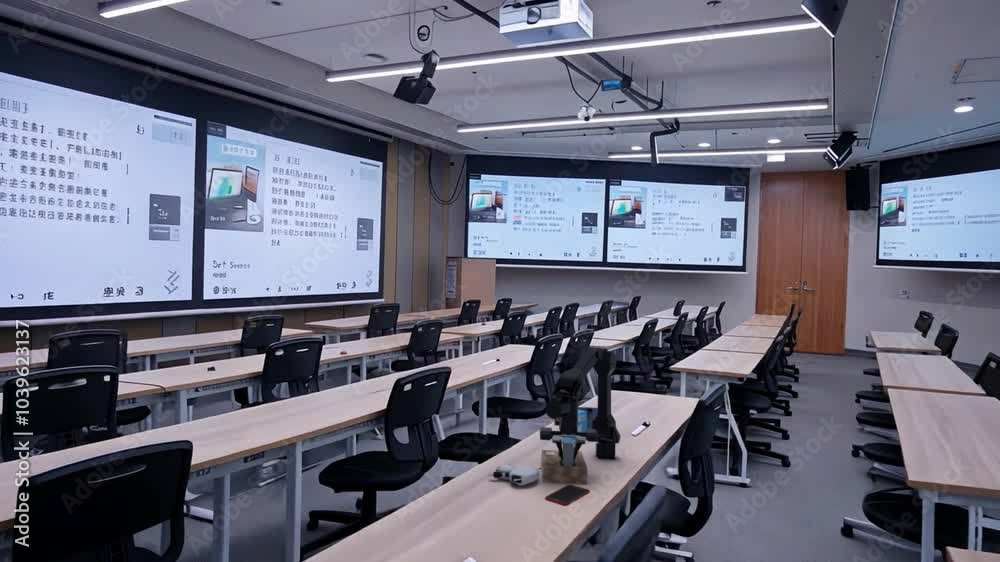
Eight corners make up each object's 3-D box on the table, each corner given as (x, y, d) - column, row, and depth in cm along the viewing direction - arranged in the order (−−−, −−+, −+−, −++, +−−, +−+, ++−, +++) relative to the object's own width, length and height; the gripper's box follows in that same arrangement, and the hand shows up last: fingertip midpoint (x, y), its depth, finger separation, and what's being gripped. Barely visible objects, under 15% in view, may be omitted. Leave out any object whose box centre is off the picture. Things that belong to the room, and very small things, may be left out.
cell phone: (590, 493, 185) (590, 490, 185) (565, 507, 173) (565, 504, 173) (569, 486, 189) (569, 483, 189) (543, 500, 178) (543, 497, 178)
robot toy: (486, 484, 192) (526, 491, 184) (485, 470, 192) (526, 476, 184) (506, 473, 202) (545, 479, 194) (505, 460, 202) (545, 465, 194)
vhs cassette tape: (608, 430, 255) (608, 407, 255) (609, 432, 252) (609, 409, 252) (565, 429, 255) (565, 406, 255) (565, 431, 252) (566, 407, 252)
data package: (571, 446, 231) (571, 415, 230) (561, 444, 234) (562, 413, 233) (586, 440, 240) (587, 410, 240) (576, 437, 243) (577, 408, 243)
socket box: (581, 465, 209) (581, 450, 209) (587, 484, 191) (587, 467, 191) (541, 464, 209) (541, 449, 209) (543, 482, 191) (543, 466, 191)
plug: (572, 467, 197) (572, 443, 197) (573, 470, 194) (573, 446, 194) (561, 466, 197) (562, 443, 197) (562, 470, 194) (563, 446, 194)
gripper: (594, 408, 203) (593, 453, 203) (539, 406, 203) (538, 451, 204) (599, 416, 192) (597, 464, 192) (540, 414, 192) (539, 462, 193)
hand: (567, 460), depth 195 cm, fingers closed on plug, 3 cm apart
